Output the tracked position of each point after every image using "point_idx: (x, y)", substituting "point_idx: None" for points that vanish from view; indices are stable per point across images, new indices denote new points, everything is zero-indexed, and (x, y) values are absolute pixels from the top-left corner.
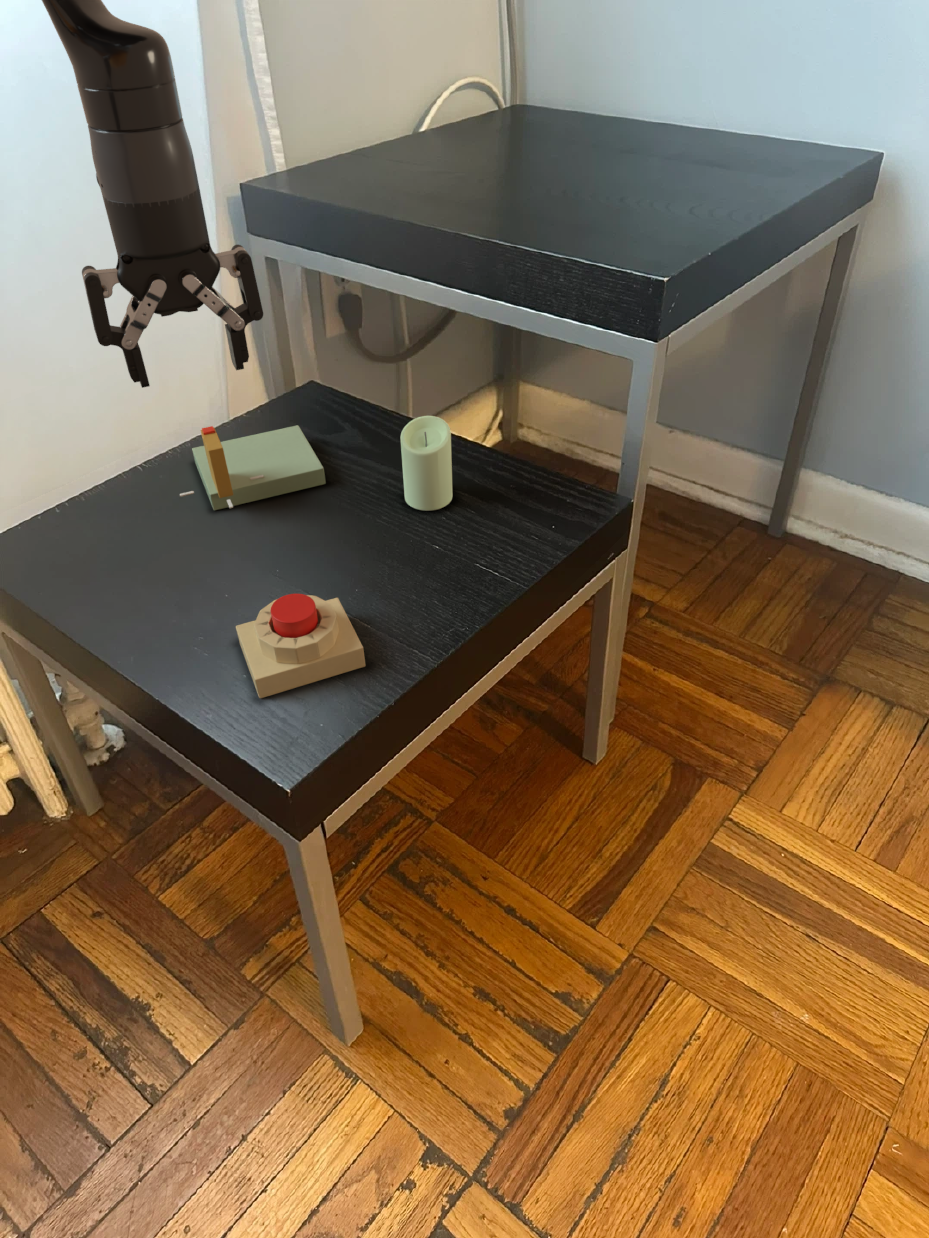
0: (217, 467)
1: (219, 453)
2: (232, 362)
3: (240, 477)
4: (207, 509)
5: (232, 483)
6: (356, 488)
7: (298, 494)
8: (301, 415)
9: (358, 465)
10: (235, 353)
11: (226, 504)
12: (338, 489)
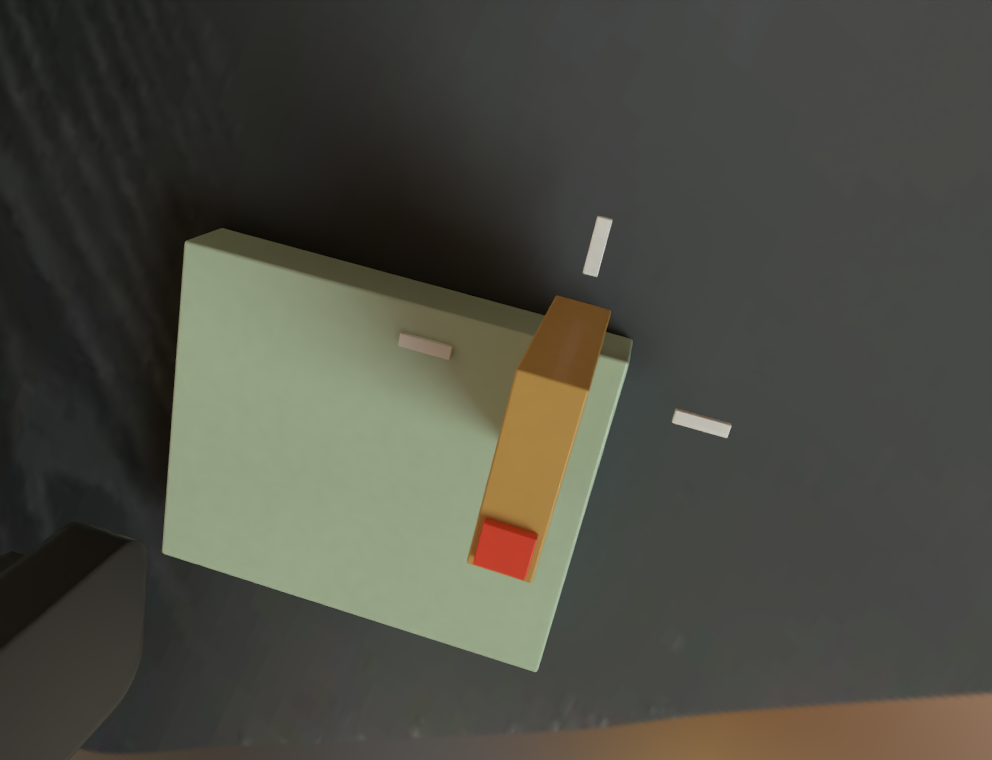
0: (576, 349)
1: (542, 367)
2: (132, 663)
3: (476, 392)
4: (646, 364)
5: None
6: (138, 129)
7: (330, 234)
8: None
9: (81, 260)
10: (16, 621)
11: None
12: (196, 167)
